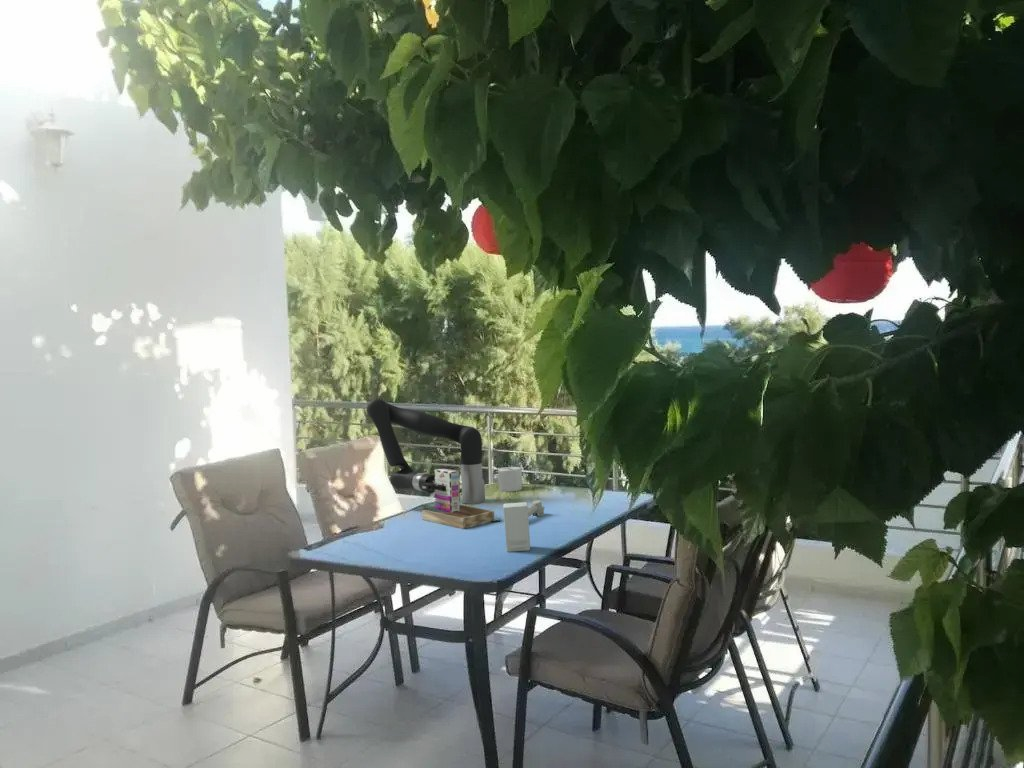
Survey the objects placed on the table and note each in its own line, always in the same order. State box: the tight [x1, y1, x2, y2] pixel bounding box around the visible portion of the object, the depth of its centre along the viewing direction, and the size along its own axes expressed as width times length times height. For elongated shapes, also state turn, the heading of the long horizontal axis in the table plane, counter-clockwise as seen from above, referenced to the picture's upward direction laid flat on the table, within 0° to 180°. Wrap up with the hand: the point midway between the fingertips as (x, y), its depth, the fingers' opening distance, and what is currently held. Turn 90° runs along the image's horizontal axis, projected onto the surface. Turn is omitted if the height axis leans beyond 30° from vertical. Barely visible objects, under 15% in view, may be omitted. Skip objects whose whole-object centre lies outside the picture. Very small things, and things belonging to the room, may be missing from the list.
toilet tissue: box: [497, 466, 523, 493], centre depth 388 cm, size 11×12×10 cm
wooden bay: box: [421, 504, 496, 530], centre depth 328 cm, size 16×26×4 cm, turn 43°
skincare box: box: [503, 501, 531, 553], centre depth 280 cm, size 8×7×16 cm
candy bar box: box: [434, 468, 461, 513], centre depth 332 cm, size 11×5×16 cm, turn 40°
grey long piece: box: [527, 499, 545, 518], centre depth 323 cm, size 5×7×25 cm
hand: (450, 487), depth 330 cm, fingers closed on candy bar box, 5 cm apart
